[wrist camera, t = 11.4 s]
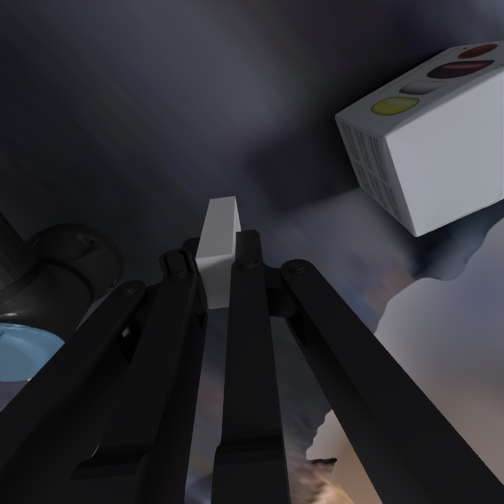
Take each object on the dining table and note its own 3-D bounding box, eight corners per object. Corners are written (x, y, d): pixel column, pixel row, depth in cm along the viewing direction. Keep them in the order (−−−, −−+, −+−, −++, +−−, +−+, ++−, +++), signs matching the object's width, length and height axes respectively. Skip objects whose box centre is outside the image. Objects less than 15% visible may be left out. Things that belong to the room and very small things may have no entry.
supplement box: (450, 43, 39) (589, 20, 23) (465, 134, 45) (584, 164, 29) (330, 114, 43) (381, 136, 27) (360, 189, 49) (414, 241, 33)
